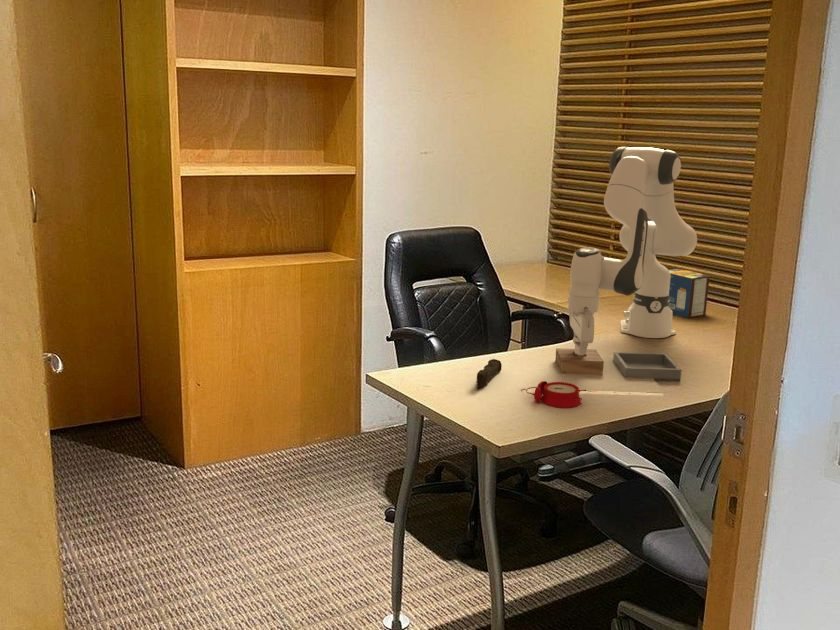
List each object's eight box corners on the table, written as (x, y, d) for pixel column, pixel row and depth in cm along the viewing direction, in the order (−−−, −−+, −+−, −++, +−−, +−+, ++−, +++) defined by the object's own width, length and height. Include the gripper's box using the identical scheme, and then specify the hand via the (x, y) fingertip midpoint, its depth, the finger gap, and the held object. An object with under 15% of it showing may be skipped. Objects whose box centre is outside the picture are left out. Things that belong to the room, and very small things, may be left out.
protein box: (674, 306, 328) (678, 268, 324) (706, 315, 316) (710, 275, 312) (656, 309, 323) (660, 270, 319) (687, 318, 310) (692, 277, 306)
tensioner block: (555, 363, 251) (556, 348, 250) (594, 364, 251) (595, 349, 250) (561, 375, 239) (562, 360, 238) (602, 377, 239) (603, 361, 238)
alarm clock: (582, 398, 211) (527, 378, 215) (575, 420, 213) (520, 400, 217) (588, 386, 220) (535, 367, 224) (581, 406, 222) (529, 388, 226)
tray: (612, 362, 253) (613, 352, 252) (665, 364, 253) (666, 353, 252) (624, 379, 237) (625, 368, 236) (680, 381, 237) (681, 369, 236)
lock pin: (569, 364, 247) (572, 336, 245) (584, 365, 247) (586, 336, 245) (572, 369, 243) (574, 340, 240) (587, 369, 243) (589, 340, 240)
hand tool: (488, 370, 243) (489, 355, 242) (501, 372, 242) (502, 357, 240) (468, 390, 226) (468, 374, 225) (481, 392, 225) (482, 376, 223)
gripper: (601, 313, 230) (597, 360, 233) (587, 296, 250) (584, 340, 253) (578, 312, 230) (575, 359, 233) (567, 295, 250) (563, 339, 253)
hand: (579, 349), depth 243 cm, fingers open, 8 cm apart
